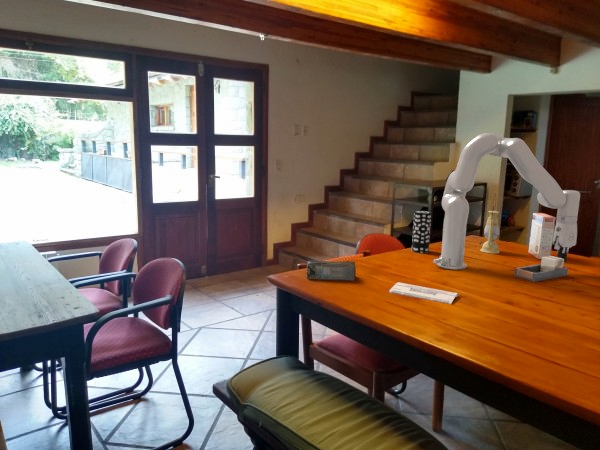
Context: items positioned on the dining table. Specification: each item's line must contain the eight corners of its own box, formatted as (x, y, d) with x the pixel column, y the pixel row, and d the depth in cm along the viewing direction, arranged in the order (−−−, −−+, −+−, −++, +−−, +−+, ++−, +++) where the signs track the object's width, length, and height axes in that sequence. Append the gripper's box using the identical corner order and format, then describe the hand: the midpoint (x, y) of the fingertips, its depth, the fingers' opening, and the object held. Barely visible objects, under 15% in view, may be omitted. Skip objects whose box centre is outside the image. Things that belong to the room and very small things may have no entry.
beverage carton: (307, 273, 186) (308, 258, 184) (355, 276, 184) (355, 260, 183) (306, 279, 178) (306, 263, 177) (355, 281, 176) (356, 265, 175)
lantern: (480, 248, 240) (485, 191, 235) (500, 250, 235) (506, 192, 230) (477, 252, 230) (482, 193, 225) (498, 255, 225) (504, 194, 220)
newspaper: (459, 296, 163) (459, 289, 162) (450, 309, 153) (451, 302, 152) (397, 284, 174) (398, 278, 174) (386, 296, 164) (386, 290, 164)
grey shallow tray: (534, 281, 180) (535, 273, 180) (514, 276, 188) (514, 268, 188) (567, 275, 191) (568, 267, 190) (546, 270, 199) (547, 262, 198)
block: (553, 274, 189) (555, 260, 188) (540, 270, 194) (541, 257, 193) (562, 272, 192) (564, 258, 191) (548, 269, 197) (550, 255, 196)
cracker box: (551, 260, 217) (556, 217, 213) (537, 259, 218) (542, 216, 214) (540, 253, 230) (545, 212, 227) (527, 253, 231) (532, 212, 228)
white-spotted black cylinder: (427, 249, 233) (429, 211, 230) (430, 253, 225) (432, 213, 222) (410, 249, 234) (413, 210, 231) (412, 252, 226) (415, 212, 223)
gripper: (564, 222, 185) (559, 265, 188) (585, 219, 193) (580, 262, 196) (547, 219, 192) (542, 261, 195) (568, 217, 199) (563, 258, 202)
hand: (561, 261), depth 195 cm, fingers closed
